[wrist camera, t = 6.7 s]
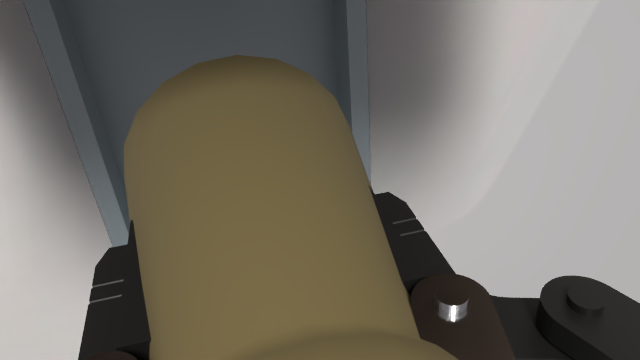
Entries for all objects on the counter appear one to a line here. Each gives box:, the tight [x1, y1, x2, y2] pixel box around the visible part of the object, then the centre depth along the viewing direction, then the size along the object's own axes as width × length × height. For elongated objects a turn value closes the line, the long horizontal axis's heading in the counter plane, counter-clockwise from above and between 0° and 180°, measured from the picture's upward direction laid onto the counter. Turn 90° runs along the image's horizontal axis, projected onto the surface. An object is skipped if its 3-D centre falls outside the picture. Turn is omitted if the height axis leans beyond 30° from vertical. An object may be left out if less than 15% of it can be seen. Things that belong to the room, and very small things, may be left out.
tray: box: [23, 0, 371, 247], centre depth 22 cm, size 12×17×5 cm
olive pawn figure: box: [124, 55, 459, 360], centre depth 9 cm, size 6×6×11 cm
